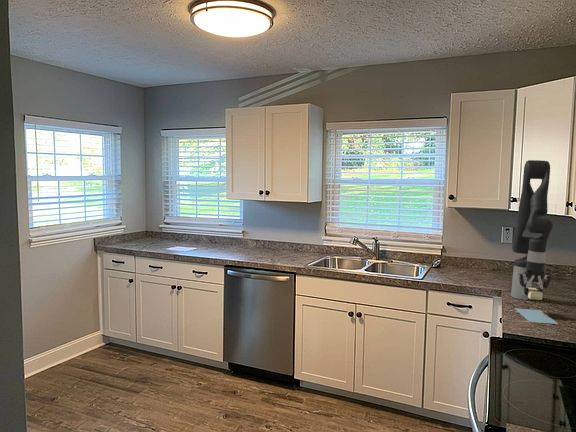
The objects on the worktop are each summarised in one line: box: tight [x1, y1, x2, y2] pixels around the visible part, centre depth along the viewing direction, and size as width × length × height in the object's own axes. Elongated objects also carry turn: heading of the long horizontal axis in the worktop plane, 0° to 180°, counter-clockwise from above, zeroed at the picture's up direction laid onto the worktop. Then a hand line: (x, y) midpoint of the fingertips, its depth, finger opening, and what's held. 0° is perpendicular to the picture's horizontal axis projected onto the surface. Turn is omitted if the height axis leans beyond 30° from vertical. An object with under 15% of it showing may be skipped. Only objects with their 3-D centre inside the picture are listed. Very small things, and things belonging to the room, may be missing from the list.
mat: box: [514, 307, 559, 325], centre depth 205 cm, size 20×12×1 cm, turn 170°
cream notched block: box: [527, 287, 544, 301], centre depth 209 cm, size 9×5×3 cm, turn 170°
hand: (532, 295), depth 209 cm, fingers closed on cream notched block, 5 cm apart
